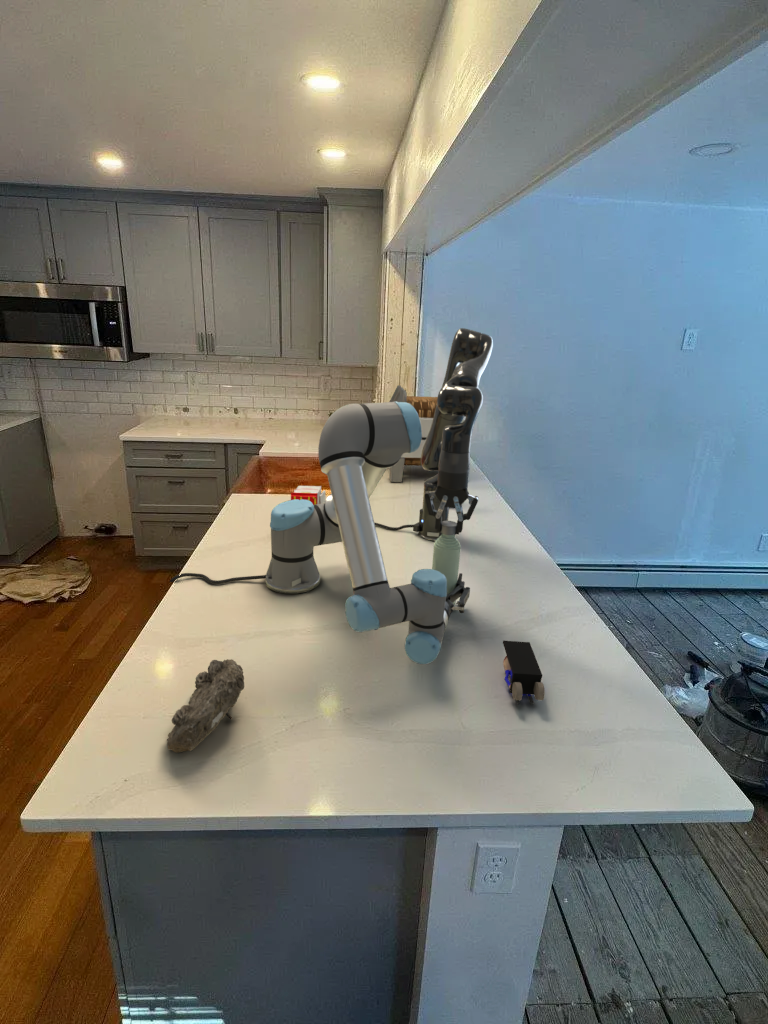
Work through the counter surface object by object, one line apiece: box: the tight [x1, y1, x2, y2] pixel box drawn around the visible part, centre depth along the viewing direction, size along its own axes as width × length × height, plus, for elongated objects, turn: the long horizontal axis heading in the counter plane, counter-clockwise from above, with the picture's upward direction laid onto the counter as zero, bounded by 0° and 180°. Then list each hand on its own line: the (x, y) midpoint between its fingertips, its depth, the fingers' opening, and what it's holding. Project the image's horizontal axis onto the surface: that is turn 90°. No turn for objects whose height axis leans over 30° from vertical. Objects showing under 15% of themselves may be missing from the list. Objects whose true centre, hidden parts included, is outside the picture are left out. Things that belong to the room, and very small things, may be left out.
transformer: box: [388, 384, 465, 483], centre depth 268 cm, size 34×33×41 cm
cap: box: [440, 520, 457, 536], centre depth 145 cm, size 4×4×2 cm
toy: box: [290, 485, 327, 505], centre depth 209 cm, size 12×13×30 cm
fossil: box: [166, 658, 245, 754], centre depth 106 cm, size 22×10×15 cm
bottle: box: [431, 534, 462, 605], centre depth 149 cm, size 7×7×23 cm
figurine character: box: [502, 639, 546, 706], centre depth 119 cm, size 7×8×15 cm
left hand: (446, 575), depth 155 cm, fingers closed on bottle, 7 cm apart
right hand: (448, 532), depth 145 cm, fingers closed on cap, 4 cm apart
